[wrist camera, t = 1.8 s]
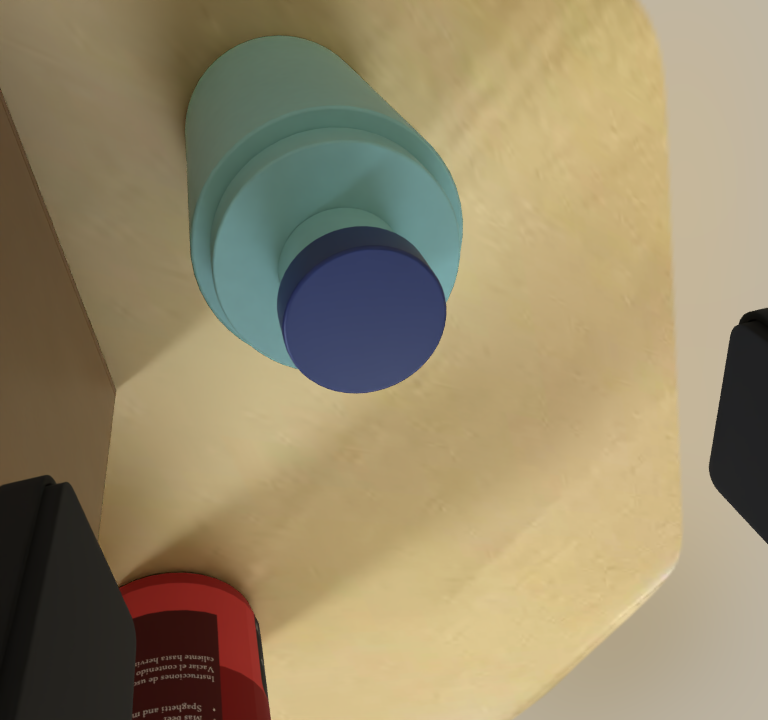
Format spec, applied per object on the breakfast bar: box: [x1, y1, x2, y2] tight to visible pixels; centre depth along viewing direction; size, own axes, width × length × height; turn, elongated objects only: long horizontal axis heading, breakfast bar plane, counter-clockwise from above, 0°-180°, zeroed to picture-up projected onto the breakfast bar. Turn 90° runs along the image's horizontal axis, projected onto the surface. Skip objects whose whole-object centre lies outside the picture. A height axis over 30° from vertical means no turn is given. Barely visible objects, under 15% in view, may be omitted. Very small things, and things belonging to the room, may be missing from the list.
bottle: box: [185, 35, 463, 393], centre depth 18 cm, size 6×6×12 cm
